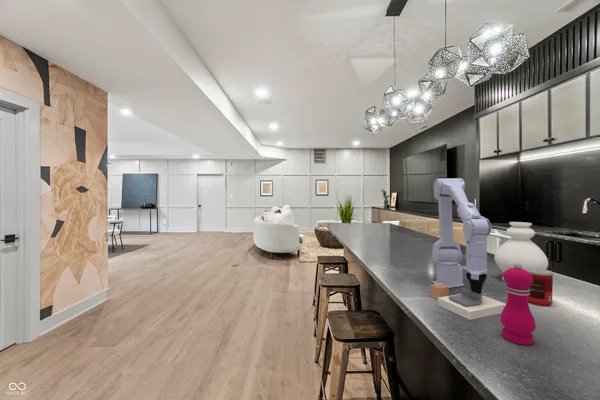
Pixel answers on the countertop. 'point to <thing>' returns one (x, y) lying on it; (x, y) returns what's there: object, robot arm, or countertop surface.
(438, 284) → the plug
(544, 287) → the canned food
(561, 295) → the countertop surface
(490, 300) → the socket board
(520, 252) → the decorative vase
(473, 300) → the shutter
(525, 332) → the pepper mill
